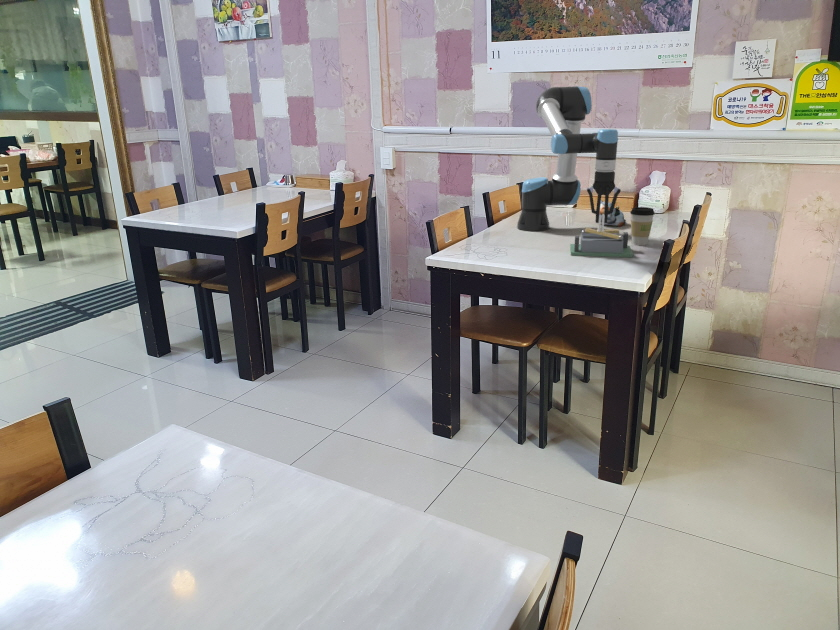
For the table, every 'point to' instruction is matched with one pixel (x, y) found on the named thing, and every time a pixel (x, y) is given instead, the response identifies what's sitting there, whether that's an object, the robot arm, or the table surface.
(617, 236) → the strap
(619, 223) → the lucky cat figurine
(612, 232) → the rear strap
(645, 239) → the coffee cup
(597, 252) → the heatsink module
